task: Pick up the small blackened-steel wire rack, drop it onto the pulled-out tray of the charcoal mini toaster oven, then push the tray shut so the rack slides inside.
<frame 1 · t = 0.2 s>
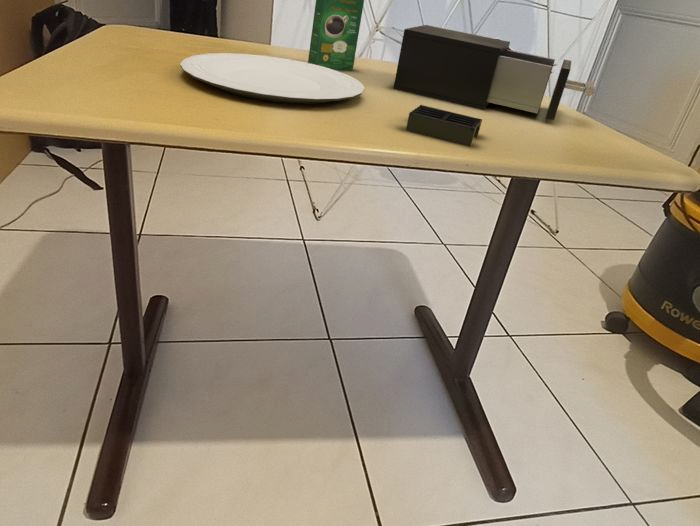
oven tray: (532, 82, 87), point 5 cm above the table, slide at 9.0 cm
plate: (273, 88, 78), on the table
toaster oven: (446, 93, 92), on the table
rack: (442, 135, 69), on the table
coffee box: (330, 70, 96), on the table
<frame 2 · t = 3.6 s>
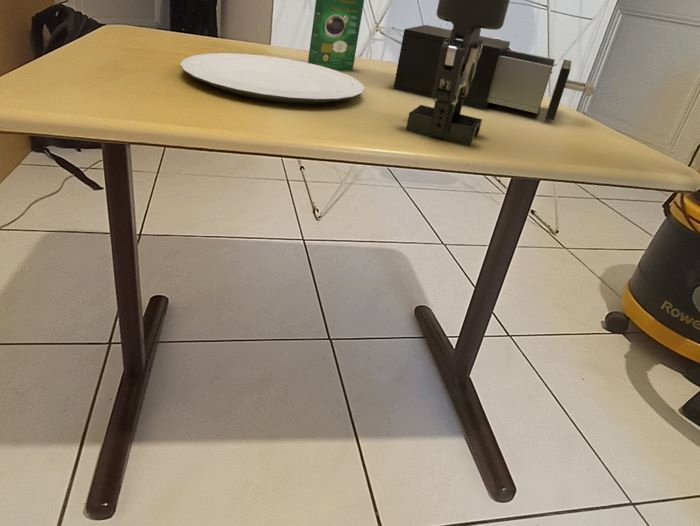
hand: (443, 129, 68), 1 cm above the table, tool pointing down, fingers closed on rack, 5 cm apart
rack: (442, 135, 69), on the table, touching gripper
everything else where it was.
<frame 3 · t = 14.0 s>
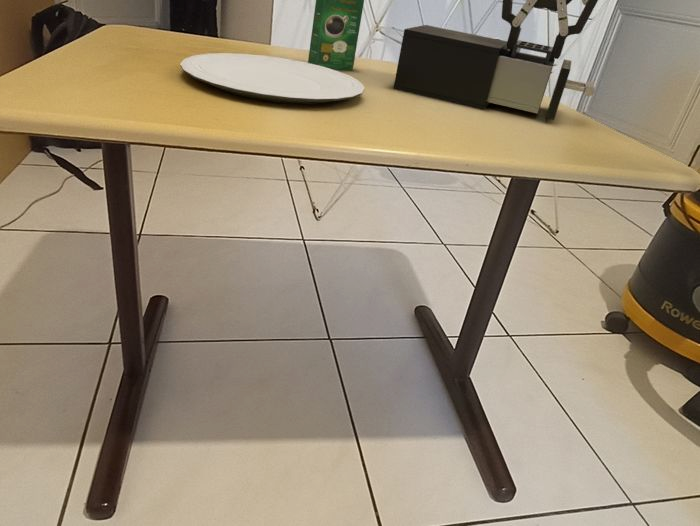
hand: (531, 56, 86), 8 cm above the table, tool pointing down, fingers closed on rack, 5 cm apart
rack: (529, 62, 86), point 7 cm above the table, touching gripper
everything else where it was.
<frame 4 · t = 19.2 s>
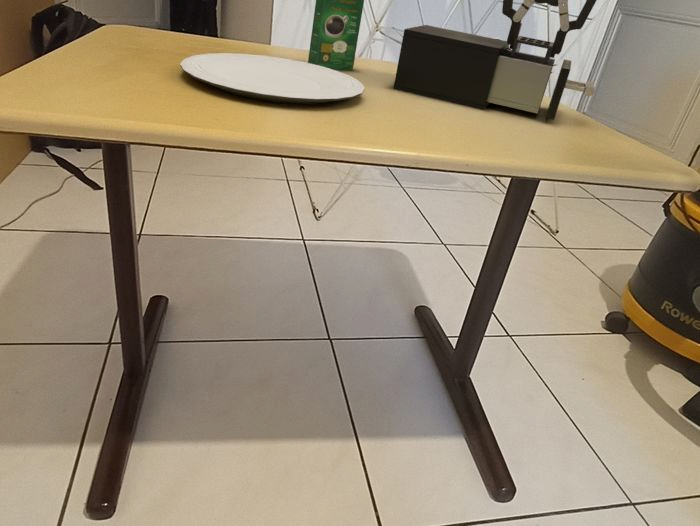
hand: (532, 52, 85), 9 cm above the table, tool pointing down, fingers closed on rack, 5 cm apart
rack: (530, 57, 86), point 8 cm above the table, touching gripper
everything else where it was.
when the fingers open (10 cm above the table, at t = 24.2 s): rack drops 7 cm, resting on oven tray.
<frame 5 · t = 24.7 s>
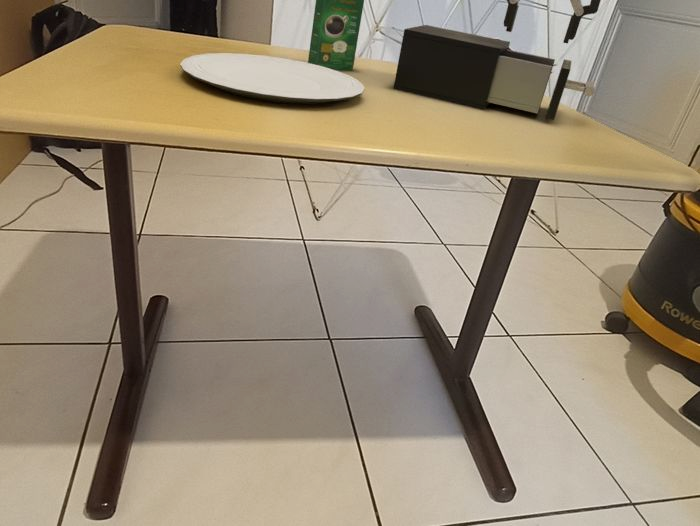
hand: (536, 37, 84), 11 cm above the table, tool pointing down, fingers open, 8 cm apart
oven tray: (532, 82, 87), point 5 cm above the table, slide at 9.0 cm, touching rack
rack: (519, 97, 89), point 2 cm above the table, touching oven tray
everything else where it was.
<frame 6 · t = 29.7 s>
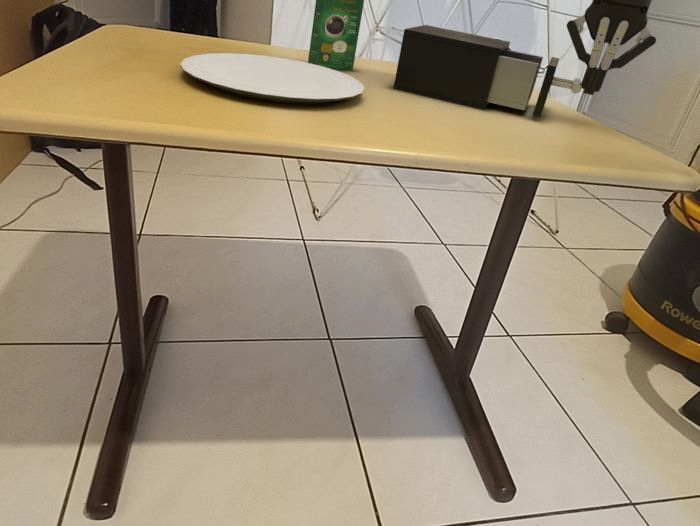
hand: (588, 93, 85), 5 cm above the table, tool pointing down, fingers closed
oven tray: (520, 80, 88), point 5 cm above the table, slide at 7.1 cm, touching gripper, rack
rack: (507, 94, 89), point 2 cm above the table, touching oven tray
everything else where it was.
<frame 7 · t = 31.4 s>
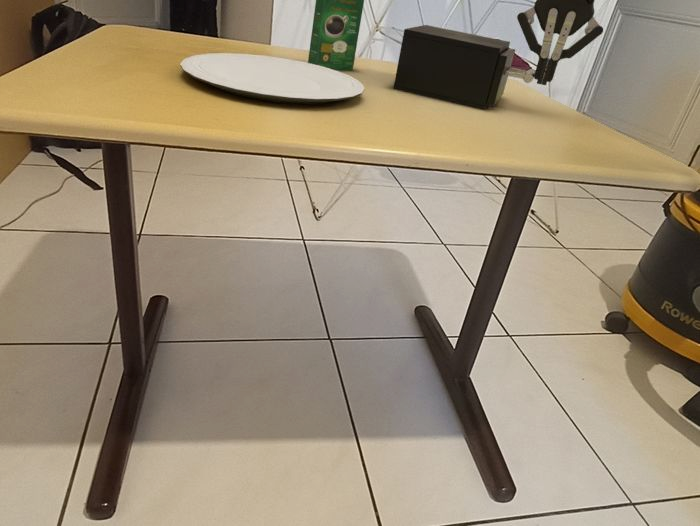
hand: (541, 83, 87), 5 cm above the table, tool pointing down, fingers closed
oven tray: (476, 70, 89), point 5 cm above the table, slide at 0.0 cm, touching gripper, rack, toaster oven
rack: (463, 84, 91), point 2 cm above the table, touching oven tray
everything else where it was.
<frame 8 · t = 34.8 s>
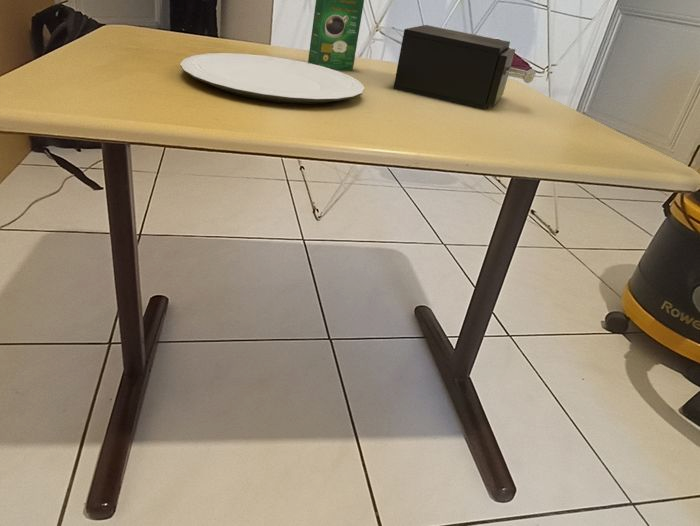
oven tray: (476, 70, 89), point 5 cm above the table, slide at 0.0 cm, touching rack
everything else where it was.
at the end: rack inside the target area in the toaster oven (2.5 cm from its centre), point 2.0 cm above the toaster oven's base; oven tray slide at 0.0 cm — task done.
